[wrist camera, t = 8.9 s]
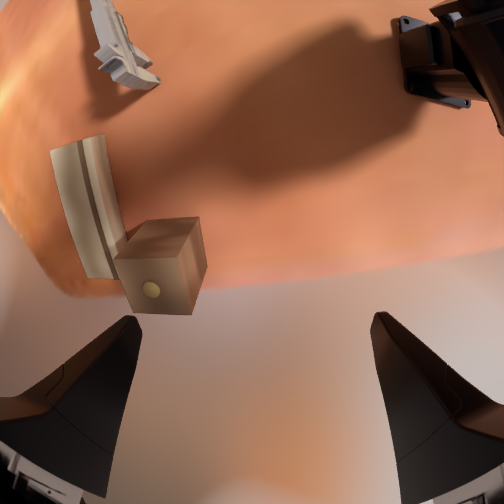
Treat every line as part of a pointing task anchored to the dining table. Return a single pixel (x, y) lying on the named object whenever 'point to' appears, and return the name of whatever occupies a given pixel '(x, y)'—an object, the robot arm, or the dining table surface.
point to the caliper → (119, 49)
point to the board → (90, 204)
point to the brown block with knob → (163, 266)
